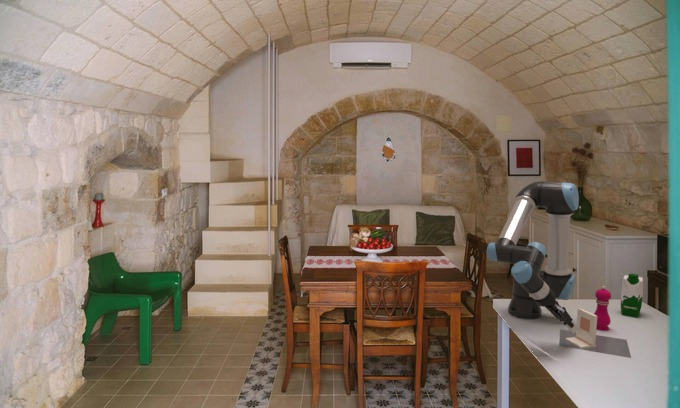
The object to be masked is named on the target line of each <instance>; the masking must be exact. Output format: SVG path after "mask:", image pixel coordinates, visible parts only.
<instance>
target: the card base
mask: <svg viewBox="0 0 680 408" xmlns="http://www.w3.org/2000/svg"><path fill="white" fill-rule="evenodd" d="M565 340H566V341H568V342H570V343H571V344H573V345H575V346H577V347H578V348H580V349H579V350H581V349H585V348H594V347H596V345H591V344H589V343H587V342H585V341H583V340H581V339H580V338H578V337H571V338H565Z"/></svg>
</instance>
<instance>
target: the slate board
mask: <svg viewBox="0 0 680 408" xmlns="http://www.w3.org/2000/svg"><path fill="white" fill-rule="evenodd" d="M571 337H576V332H575V333H572V332H571V331H570V330H569V329H568V330H566V329H562V328H561V329H559V344H558V345H559V347H565V348H571V349H576V350H582V351H588V352H593V353H599V354H605V355H612V356H617V357H623V358H629V359H632V355H631V351H630V348H629V344H628V340H627V339H624V338H617V337H612V336H605V335H599V334H596V340H595V345H596V347H594V348H585V349H580V348H578V347H577V346H575V345H573V344H571V343H570V342H568V341H566V340H565V338H571Z"/></svg>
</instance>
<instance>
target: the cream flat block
mask: <svg viewBox="0 0 680 408" xmlns="http://www.w3.org/2000/svg"><path fill="white" fill-rule="evenodd" d="M596 326H597V316H596V315H594V313H592V312H589V311H587V310H586V309H583V308H579V307H578V308H577V316H576V327H577V328H578V330H577V331H576V337H578V338H580V339H581V340H583V341H585V342H587V343H589V344H591V345H595V340H596V335H597V329H596Z"/></svg>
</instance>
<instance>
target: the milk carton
mask: <svg viewBox="0 0 680 408" xmlns="http://www.w3.org/2000/svg"><path fill="white" fill-rule="evenodd" d="M621 283H622V284H621V290H620V291H621V292H620V293H621V294H620V310H621V312H620V313H621V316H627V317H632V318H636V319H638V318H639V317H640V313H641V310H642V304H643V296H644V286H645V285H644V278H643V277H642V276H639V274H638V273H637V274H636V273H629V274H628V275H627V274H625V275H624V276H623V279H622V281H621Z"/></svg>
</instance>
